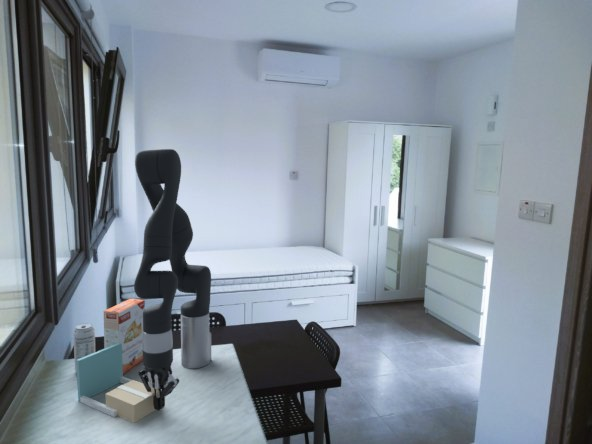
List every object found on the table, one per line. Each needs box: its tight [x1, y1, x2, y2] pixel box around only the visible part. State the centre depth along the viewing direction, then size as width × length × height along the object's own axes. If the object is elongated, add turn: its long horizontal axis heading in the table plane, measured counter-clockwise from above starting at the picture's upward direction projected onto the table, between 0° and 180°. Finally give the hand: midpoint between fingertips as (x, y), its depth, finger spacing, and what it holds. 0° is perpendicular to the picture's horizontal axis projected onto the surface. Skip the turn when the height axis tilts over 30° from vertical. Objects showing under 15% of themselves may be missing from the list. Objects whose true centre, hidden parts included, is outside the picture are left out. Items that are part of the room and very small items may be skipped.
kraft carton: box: [104, 379, 157, 424], centre depth 117 cm, size 9×11×5 cm
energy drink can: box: [72, 322, 96, 373], centre depth 136 cm, size 6×6×15 cm
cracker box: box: [103, 298, 146, 375], centre depth 140 cm, size 14×6×21 cm, turn 166°
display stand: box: [76, 343, 133, 418], centre depth 122 cm, size 14×15×12 cm
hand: (159, 408), depth 114 cm, fingers closed
